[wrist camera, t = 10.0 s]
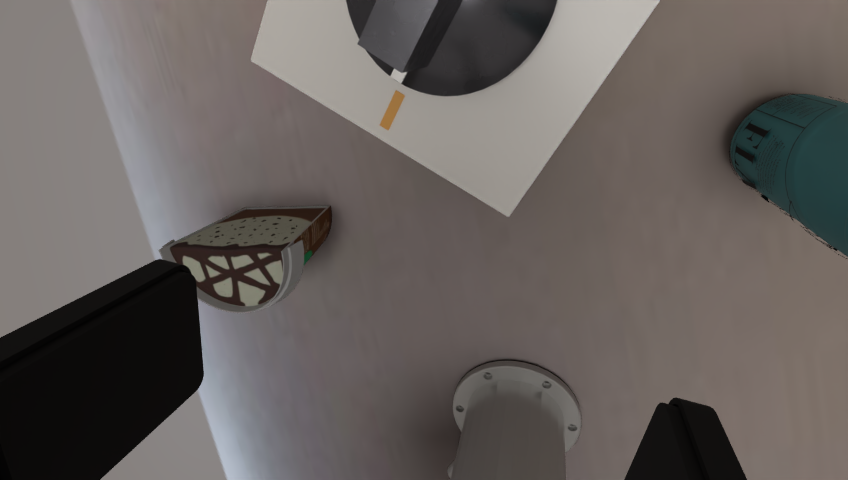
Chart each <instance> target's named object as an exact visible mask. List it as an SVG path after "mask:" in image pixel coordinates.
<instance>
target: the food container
mask: <svg viewBox="0 0 848 480" xmlns="http://www.w3.org/2000/svg"><path fill="white" fill-rule="evenodd" d="M331 222H332V212H331V206H289V207H245V208H243V209H241V210H239V211H237V212H235V213H233V214H231V215H228V216H226V217H224V218H222V219H220V220H218V221H216V222H214V223H212V224H210V225H208V226H206V227H204V228H202V229H200V230H198V231H196V232H194V233H192V234H190V235H188V236H186V237H184V238H181V239H179V240H177V241H174V240H171V241H170V242H168V243H167V244H165V245H164V246H163V248H161V249H160V250H159V252H160V254H161V257H162V259H163V260H167V261H171V262H175V263H178V264H182V265H185V266H187V267H189V269H190V270H191V273H192V275H193V276H194V277H195V279H196V286H197V298H198V299H199V300H200V301H202V302H204V303H206V304H207V305H209V306H212V307H214V308H216V309H219V310H223V311H226V312H232V313H249V312H254V311H258V310H262V309H265V308H267V307H269V306H271V305H273V304H275V303H277V302H279V301H281V300H282V299H284V298H285V297H287V296H288V295H289V294H290V293H291V292H292V291H293V290H294V289H295V287H296V285H297V284H298V282H299V280H300V277H301V275H302V272H303V266H304V264H305V263H306V262H307V261H308V260H309V259H310V257H311V256H312V255H313V254H314V253H315V251H316V250H317V249H318V248H319V247H320V246H321V244H322V243H323V242H324V241H325V239H326V238H327V236H328V234H329V231H330V228H331Z"/></svg>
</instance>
